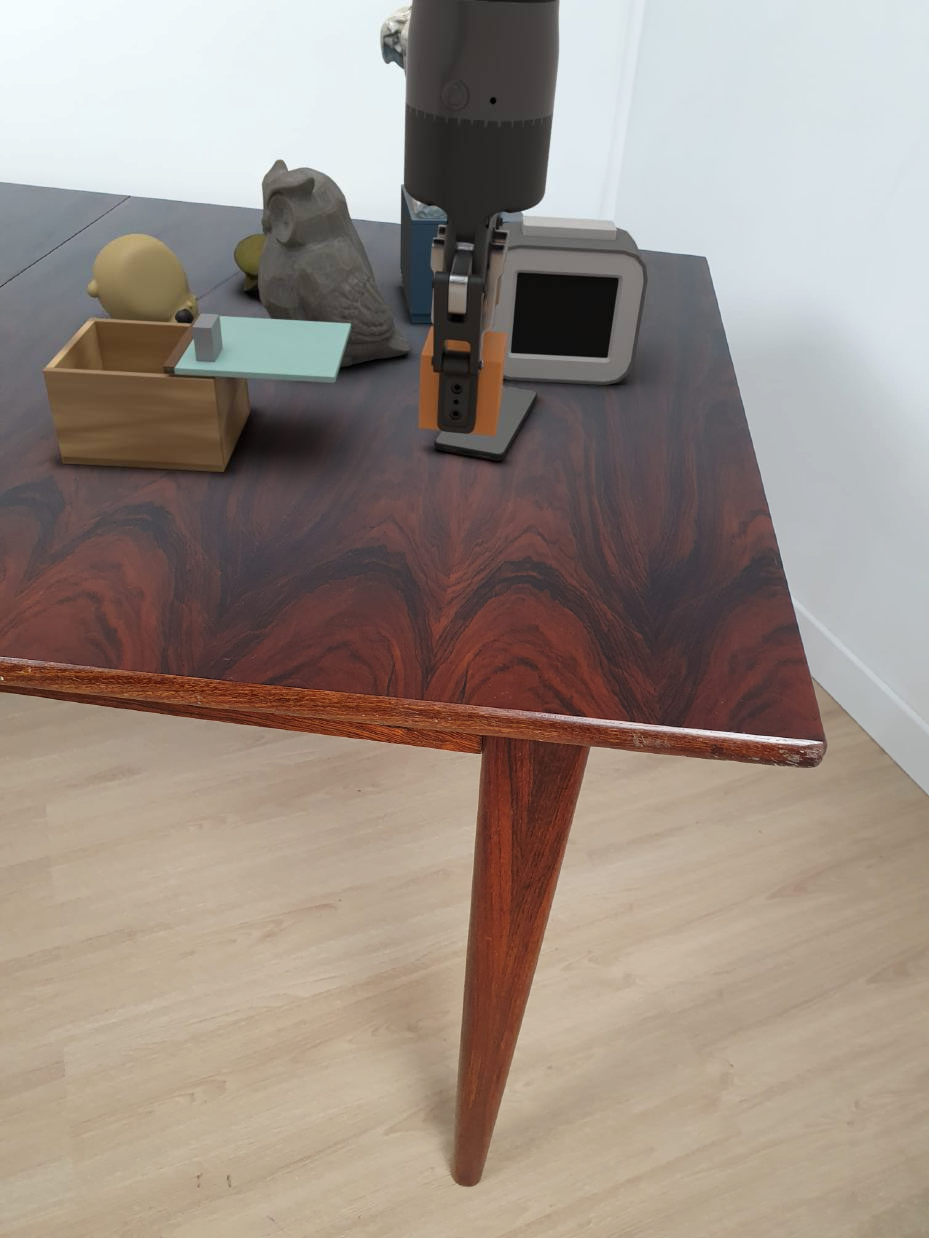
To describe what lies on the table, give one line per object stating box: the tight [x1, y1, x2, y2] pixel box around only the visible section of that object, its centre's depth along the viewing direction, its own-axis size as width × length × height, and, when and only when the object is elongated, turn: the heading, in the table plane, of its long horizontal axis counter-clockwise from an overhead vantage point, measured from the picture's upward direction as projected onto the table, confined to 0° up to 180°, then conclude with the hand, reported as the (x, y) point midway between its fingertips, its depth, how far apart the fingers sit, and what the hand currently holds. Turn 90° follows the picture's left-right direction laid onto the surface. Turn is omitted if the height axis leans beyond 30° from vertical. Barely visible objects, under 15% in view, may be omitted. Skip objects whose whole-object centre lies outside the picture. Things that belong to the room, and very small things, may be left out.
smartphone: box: [433, 385, 538, 461], centre depth 98 cm, size 7×1×15 cm
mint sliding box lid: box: [163, 313, 351, 384], centre depth 86 cm, size 12×14×4 cm
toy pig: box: [86, 233, 199, 324], centre depth 111 cm, size 10×12×11 cm
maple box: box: [42, 317, 251, 473], centre depth 90 cm, size 12×14×9 cm
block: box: [418, 325, 507, 436], centre depth 58 cm, size 5×5×5 cm
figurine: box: [258, 158, 410, 368], centre depth 104 cm, size 14×16×20 cm
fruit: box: [233, 233, 266, 292], centre depth 125 cm, size 11×12×7 cm
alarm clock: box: [489, 215, 649, 386], centre depth 107 cm, size 16×11×16 cm
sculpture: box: [379, 4, 525, 324], centre depth 116 cm, size 17×16×35 cm
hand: (460, 409), depth 60 cm, fingers closed on block, 4 cm apart
